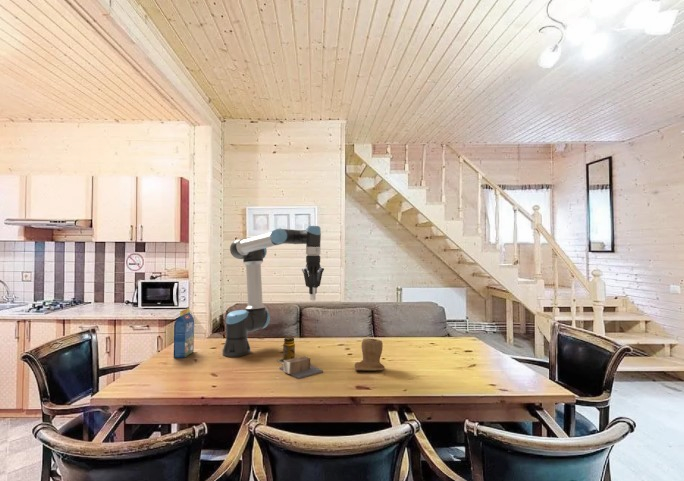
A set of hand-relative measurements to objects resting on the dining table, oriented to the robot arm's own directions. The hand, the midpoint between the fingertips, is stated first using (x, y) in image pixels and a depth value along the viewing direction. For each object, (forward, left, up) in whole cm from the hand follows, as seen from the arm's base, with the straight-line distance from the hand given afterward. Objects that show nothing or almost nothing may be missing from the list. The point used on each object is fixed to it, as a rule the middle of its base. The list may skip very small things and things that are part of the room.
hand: (312, 300), depth 187 cm
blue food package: (-55, -48, -33) cm, 80 cm away
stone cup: (+26, +16, -33) cm, 45 cm away
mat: (+7, -12, -32) cm, 35 cm away
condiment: (-10, -9, -33) cm, 35 cm away
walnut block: (+7, -20, -29) cm, 36 cm away
